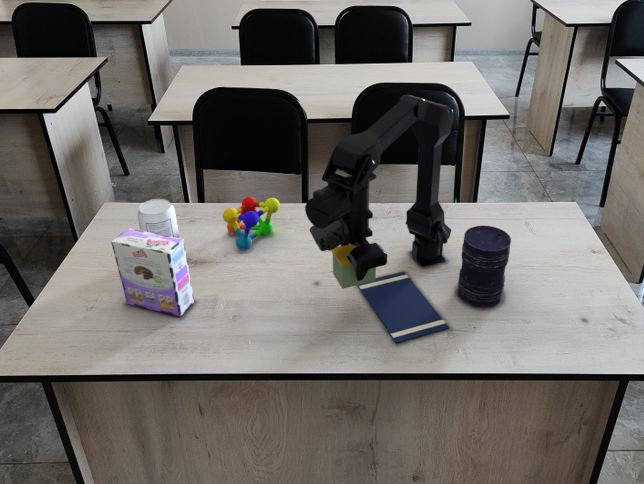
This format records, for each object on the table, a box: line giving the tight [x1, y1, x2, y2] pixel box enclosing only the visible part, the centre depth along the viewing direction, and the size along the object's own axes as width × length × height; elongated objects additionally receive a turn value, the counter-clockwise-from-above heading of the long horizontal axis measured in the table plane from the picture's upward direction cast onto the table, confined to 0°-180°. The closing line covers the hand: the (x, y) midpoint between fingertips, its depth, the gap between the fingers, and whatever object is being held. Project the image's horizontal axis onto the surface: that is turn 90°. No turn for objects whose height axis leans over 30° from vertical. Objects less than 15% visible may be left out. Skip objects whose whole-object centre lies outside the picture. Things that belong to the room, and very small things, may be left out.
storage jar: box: [457, 225, 512, 309], centre depth 130 cm, size 10×10×15 cm
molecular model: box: [222, 196, 281, 251], centre depth 148 cm, size 15×12×15 cm
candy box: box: [110, 228, 195, 317], centre depth 127 cm, size 14×6×16 cm, turn 71°
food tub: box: [330, 244, 377, 290], centre depth 121 cm, size 8×6×6 cm
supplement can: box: [136, 198, 181, 239], centre depth 141 cm, size 8×8×15 cm
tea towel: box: [356, 271, 450, 344], centre depth 130 cm, size 12×21×1 cm, turn 22°
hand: (354, 272), depth 122 cm, fingers closed on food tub, 5 cm apart
